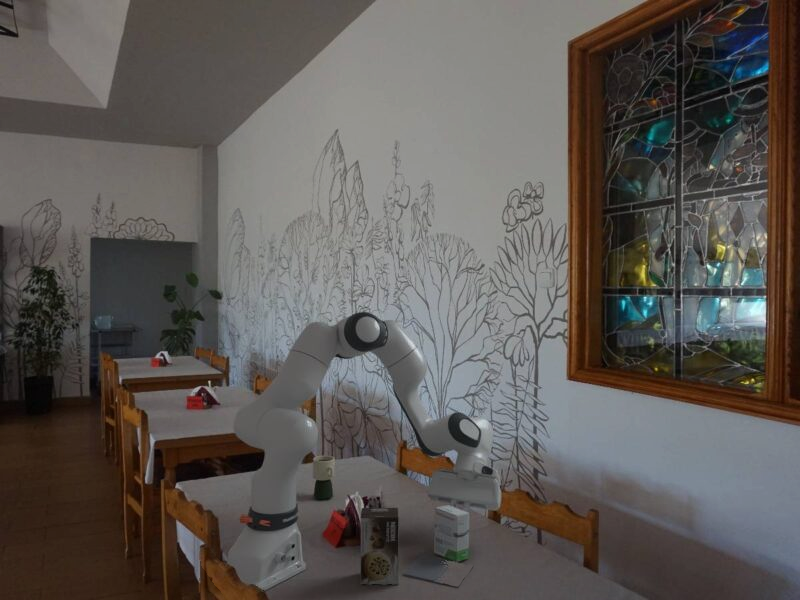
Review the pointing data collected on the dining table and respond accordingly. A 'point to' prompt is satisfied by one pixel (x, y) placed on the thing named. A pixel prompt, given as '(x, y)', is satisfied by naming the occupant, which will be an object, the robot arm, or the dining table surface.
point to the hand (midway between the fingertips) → (457, 518)
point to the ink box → (451, 533)
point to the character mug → (323, 476)
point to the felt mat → (427, 568)
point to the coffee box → (379, 546)
